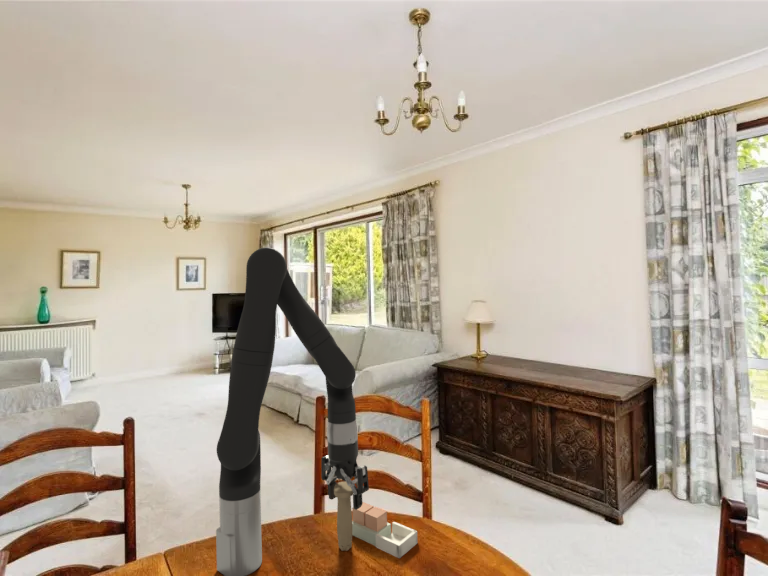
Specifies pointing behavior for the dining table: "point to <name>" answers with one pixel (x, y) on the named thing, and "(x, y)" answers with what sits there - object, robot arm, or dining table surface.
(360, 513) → the pink cube
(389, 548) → the tray
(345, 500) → the handle
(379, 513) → the salmon cube
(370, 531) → the pale green flat block
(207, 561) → the dining table surface
